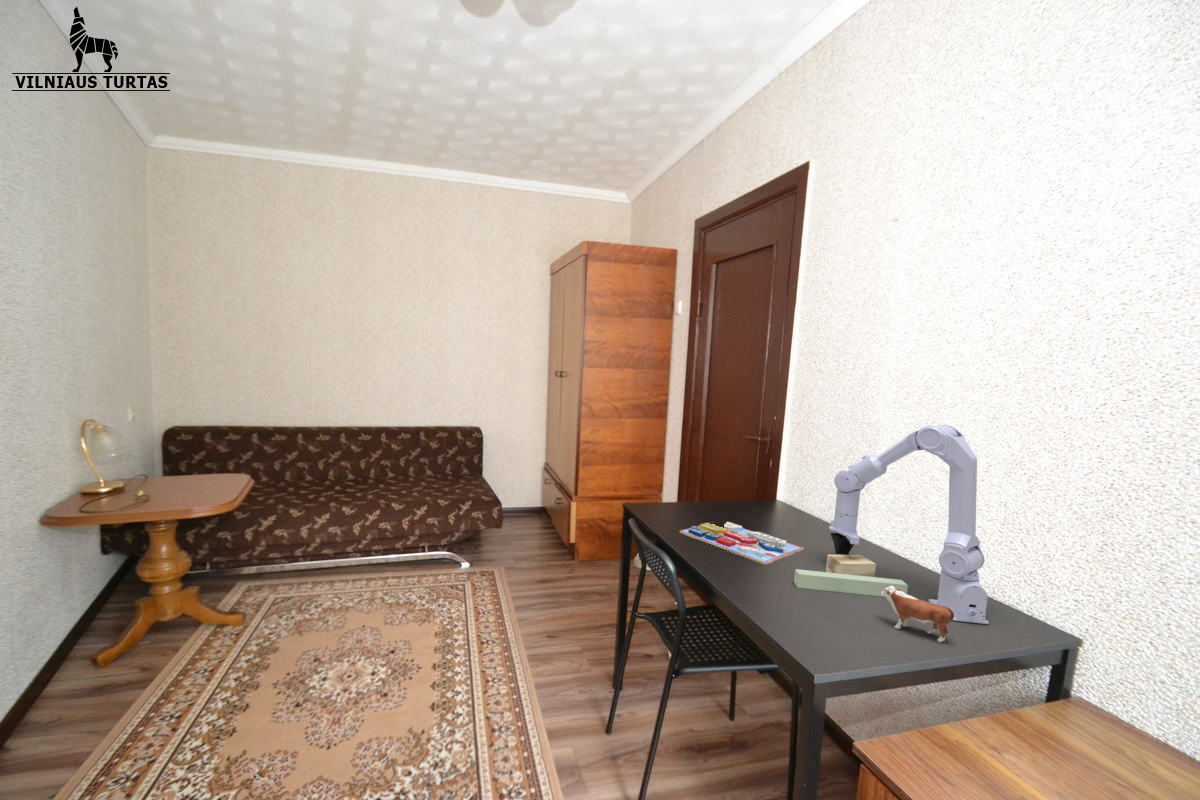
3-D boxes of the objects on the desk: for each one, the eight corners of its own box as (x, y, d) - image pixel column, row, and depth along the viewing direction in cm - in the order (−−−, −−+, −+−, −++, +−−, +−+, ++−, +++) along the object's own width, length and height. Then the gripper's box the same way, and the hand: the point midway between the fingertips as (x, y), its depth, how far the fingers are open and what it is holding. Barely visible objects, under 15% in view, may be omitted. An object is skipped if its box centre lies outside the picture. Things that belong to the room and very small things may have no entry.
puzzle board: (804, 551, 151) (805, 543, 151) (765, 568, 136) (766, 559, 135) (719, 523, 174) (720, 515, 173) (678, 534, 158) (679, 526, 158)
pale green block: (906, 599, 121) (907, 585, 121) (797, 587, 123) (799, 574, 123) (899, 593, 124) (901, 579, 124) (793, 582, 126) (795, 569, 126)
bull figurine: (878, 615, 112) (883, 580, 111) (951, 639, 103) (956, 601, 103) (874, 622, 108) (879, 586, 108) (949, 647, 100) (954, 609, 99)
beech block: (873, 582, 131) (875, 563, 130) (839, 582, 129) (841, 563, 129) (858, 572, 137) (860, 554, 136) (825, 572, 135) (827, 554, 135)
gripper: (822, 504, 145) (817, 549, 146) (842, 519, 131) (836, 569, 132) (846, 506, 145) (841, 551, 146) (869, 522, 130) (863, 572, 131)
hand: (841, 560), depth 139 cm, fingers closed
